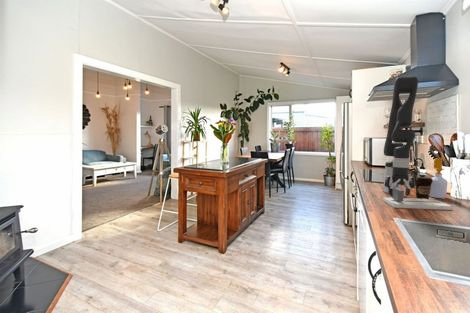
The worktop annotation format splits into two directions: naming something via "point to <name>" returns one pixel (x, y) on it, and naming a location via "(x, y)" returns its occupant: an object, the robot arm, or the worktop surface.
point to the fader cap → (398, 194)
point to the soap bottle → (438, 181)
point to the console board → (417, 203)
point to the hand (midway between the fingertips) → (398, 195)
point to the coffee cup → (423, 187)
